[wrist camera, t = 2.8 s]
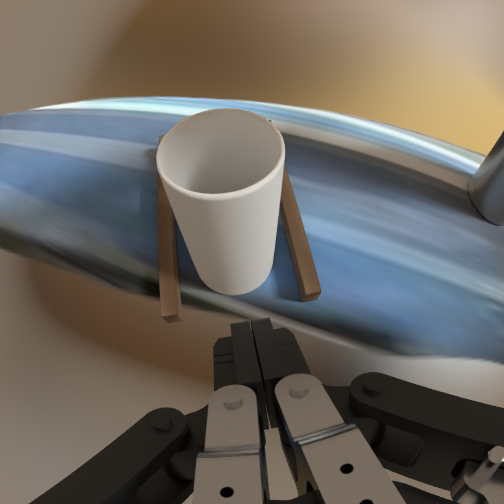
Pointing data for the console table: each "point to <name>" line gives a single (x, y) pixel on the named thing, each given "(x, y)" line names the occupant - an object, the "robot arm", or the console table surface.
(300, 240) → the bay
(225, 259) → the cup
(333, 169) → the console table surface
